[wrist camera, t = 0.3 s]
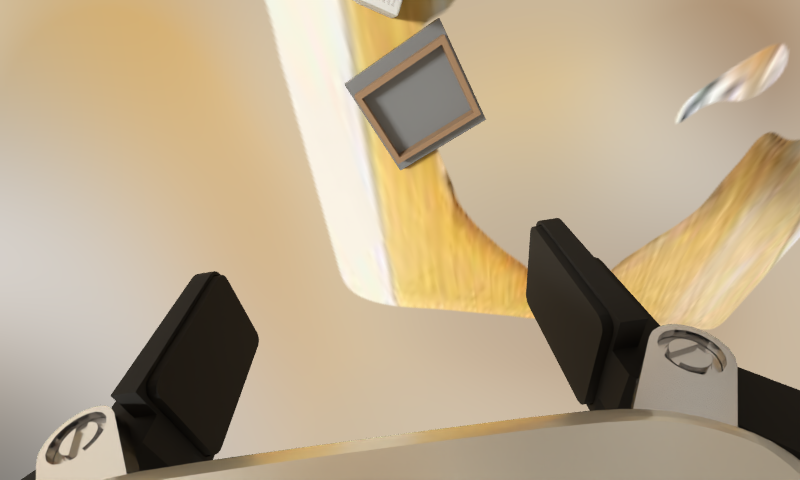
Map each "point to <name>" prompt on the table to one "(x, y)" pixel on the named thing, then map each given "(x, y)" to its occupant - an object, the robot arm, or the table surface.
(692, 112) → the table surface
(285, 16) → the table surface
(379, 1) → the skincare box
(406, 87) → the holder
